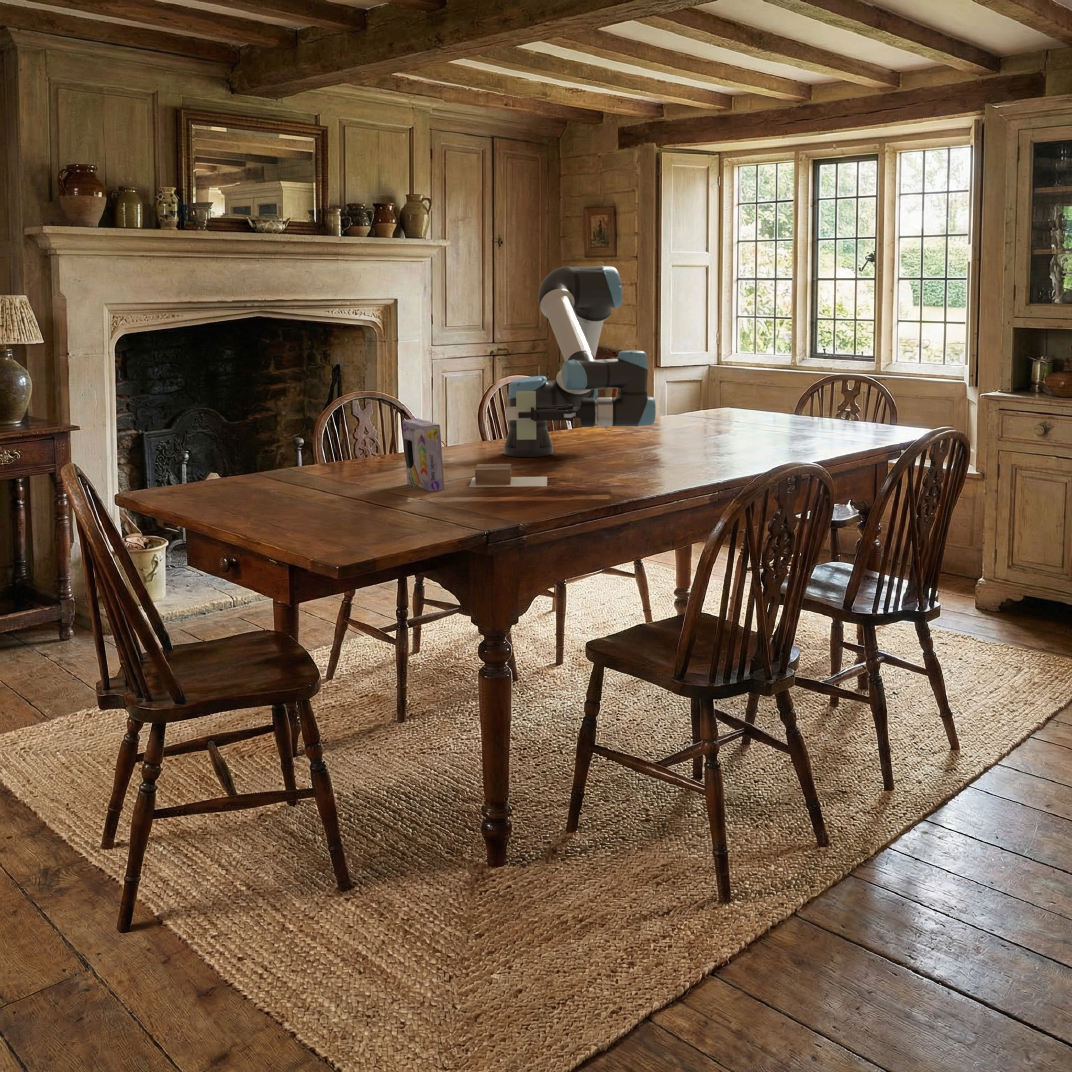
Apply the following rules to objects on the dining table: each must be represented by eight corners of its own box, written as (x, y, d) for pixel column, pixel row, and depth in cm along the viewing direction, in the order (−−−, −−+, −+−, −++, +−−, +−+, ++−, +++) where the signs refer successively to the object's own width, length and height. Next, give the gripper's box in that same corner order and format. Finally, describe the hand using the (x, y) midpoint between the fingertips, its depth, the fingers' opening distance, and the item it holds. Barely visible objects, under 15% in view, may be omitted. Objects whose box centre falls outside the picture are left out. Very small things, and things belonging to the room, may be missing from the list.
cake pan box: (403, 483, 310) (401, 417, 306) (421, 482, 312) (419, 416, 308) (426, 495, 293) (424, 425, 289) (445, 493, 295) (443, 424, 291)
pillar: (517, 436, 305) (516, 391, 303) (536, 436, 305) (535, 390, 303) (516, 439, 300) (516, 393, 298) (536, 439, 300) (535, 392, 298)
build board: (472, 481, 312) (472, 477, 312) (547, 480, 312) (547, 476, 311) (469, 490, 298) (469, 486, 298) (546, 489, 298) (546, 486, 298)
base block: (477, 479, 309) (477, 464, 308) (511, 478, 309) (511, 463, 308) (475, 485, 301) (475, 469, 300) (510, 484, 300) (509, 469, 300)
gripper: (597, 431, 293) (504, 432, 293) (593, 422, 311) (507, 423, 311) (597, 401, 292) (504, 402, 292) (593, 394, 309) (506, 395, 309)
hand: (505, 413), depth 301 cm, fingers closed on pillar, 5 cm apart
